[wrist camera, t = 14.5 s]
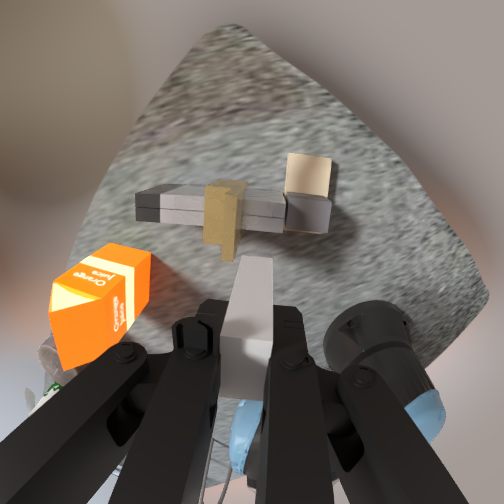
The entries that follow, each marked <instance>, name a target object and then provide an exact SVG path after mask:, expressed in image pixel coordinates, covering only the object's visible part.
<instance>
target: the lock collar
mask: <svg viewBox="0 0 504 504" xmlns="http://www.w3.org/2000/svg"><path fill="white" fill-rule="evenodd" d="M248 182H249V181H236V180H221V179H219V180H217V181H215V182H213V183H211V184H209V185H207V186H205V199H204V225H203V243H207V244H217V245H222V254H221V261H231V262H233V260H234V257H235V254H236V252H237V249H238V246H239V243H240V240H241V237H242V234H243V231H244V229H241V218H242V205H243V192H244V191H245V189H246V188H247V187H248Z"/></svg>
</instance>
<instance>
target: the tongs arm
mask: <svg viewBox="0 0 504 504" xmlns="http://www.w3.org/2000/svg"><path fill="white" fill-rule="evenodd" d="M204 199H205V186H200V185H180V184H163V185H160V186H156V187H153V188H150V189H147V190H144V191H141V192H138V193H135V205H136V207H146V208H164V209H180V210H195V211H204ZM285 208H286V202H285V199H284V196H283V193H282V192H278V191H267V190H257V189H245V191H244V192H243V205H242V214H245V215H256V216H267V217H277V218H284V217H285Z"/></svg>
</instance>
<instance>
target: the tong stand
mask: <svg viewBox="0 0 504 504" xmlns="http://www.w3.org/2000/svg"><path fill="white" fill-rule="evenodd" d="M331 162H332V159H330V158H324V157H317V156H309V155H302V154H293V153H288V159H287V169H286V180H285V189H284V199H285V202H286V208H285V217H284V226H283V230H286V231H296V232H306V233H315V234H322V233H328V227H329V220H330V213H331V206H332V202H331V201H330V200H328V199H327V196H328V188H329V180H330V171H331Z"/></svg>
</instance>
